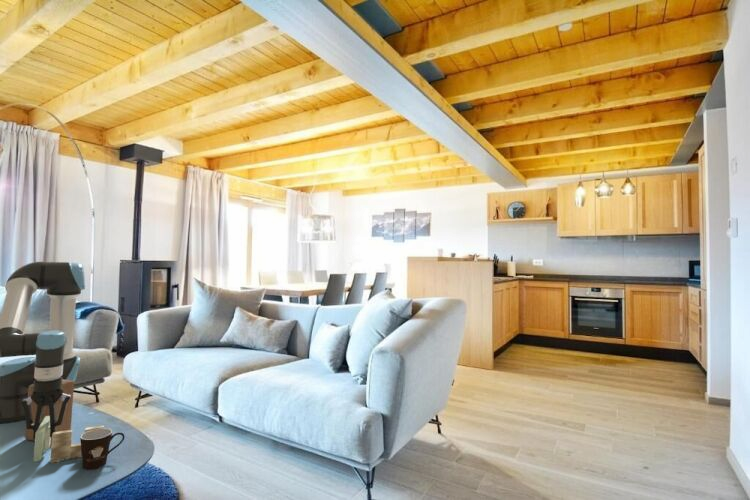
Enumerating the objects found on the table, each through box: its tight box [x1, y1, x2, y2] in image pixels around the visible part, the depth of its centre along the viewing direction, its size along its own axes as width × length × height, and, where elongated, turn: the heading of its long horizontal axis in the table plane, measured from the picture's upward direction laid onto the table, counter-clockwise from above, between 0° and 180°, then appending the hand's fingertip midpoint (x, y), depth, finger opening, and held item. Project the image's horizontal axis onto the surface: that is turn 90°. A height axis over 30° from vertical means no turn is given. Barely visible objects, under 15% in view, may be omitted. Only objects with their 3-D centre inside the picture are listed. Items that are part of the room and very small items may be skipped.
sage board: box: [32, 416, 50, 462], centre depth 132 cm, size 14×2×9 cm, turn 30°
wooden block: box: [24, 379, 75, 442], centre depth 148 cm, size 10×10×20 cm
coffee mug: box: [80, 427, 126, 471], centre depth 130 cm, size 12×9×10 cm
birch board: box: [49, 424, 105, 464], centre depth 134 cm, size 14×4×9 cm, turn 120°
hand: (43, 447), depth 134 cm, fingers closed on sage board, 2 cm apart
